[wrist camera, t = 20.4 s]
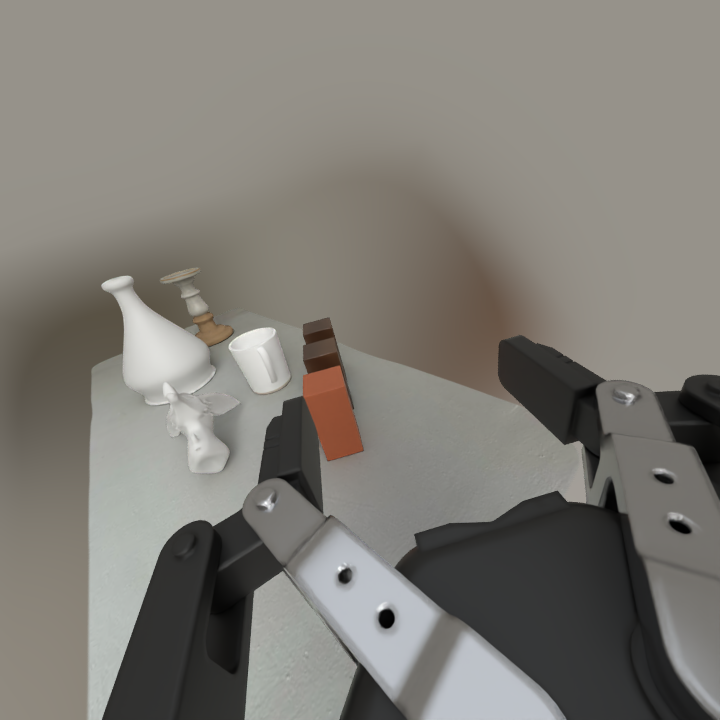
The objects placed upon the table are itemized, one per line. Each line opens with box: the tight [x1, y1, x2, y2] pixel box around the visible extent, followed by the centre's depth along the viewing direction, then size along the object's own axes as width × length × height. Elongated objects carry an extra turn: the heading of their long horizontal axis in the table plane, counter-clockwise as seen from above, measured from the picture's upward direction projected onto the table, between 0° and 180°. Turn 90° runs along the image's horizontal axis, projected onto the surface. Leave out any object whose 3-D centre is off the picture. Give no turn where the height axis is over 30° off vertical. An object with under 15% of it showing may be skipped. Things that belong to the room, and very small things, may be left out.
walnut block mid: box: [303, 337, 354, 409], centre depth 47 cm, size 5×5×11 cm
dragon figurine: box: [163, 382, 241, 474], centre depth 43 cm, size 12×18×13 cm
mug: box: [229, 328, 291, 395], centre depth 57 cm, size 11×9×10 cm
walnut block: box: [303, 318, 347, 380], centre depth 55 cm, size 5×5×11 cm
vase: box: [102, 276, 216, 405], centre depth 63 cm, size 17×17×25 cm
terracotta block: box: [303, 365, 364, 461], centre depth 39 cm, size 5×5×11 cm
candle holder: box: [160, 268, 233, 346], centre depth 86 cm, size 12×12×20 cm
